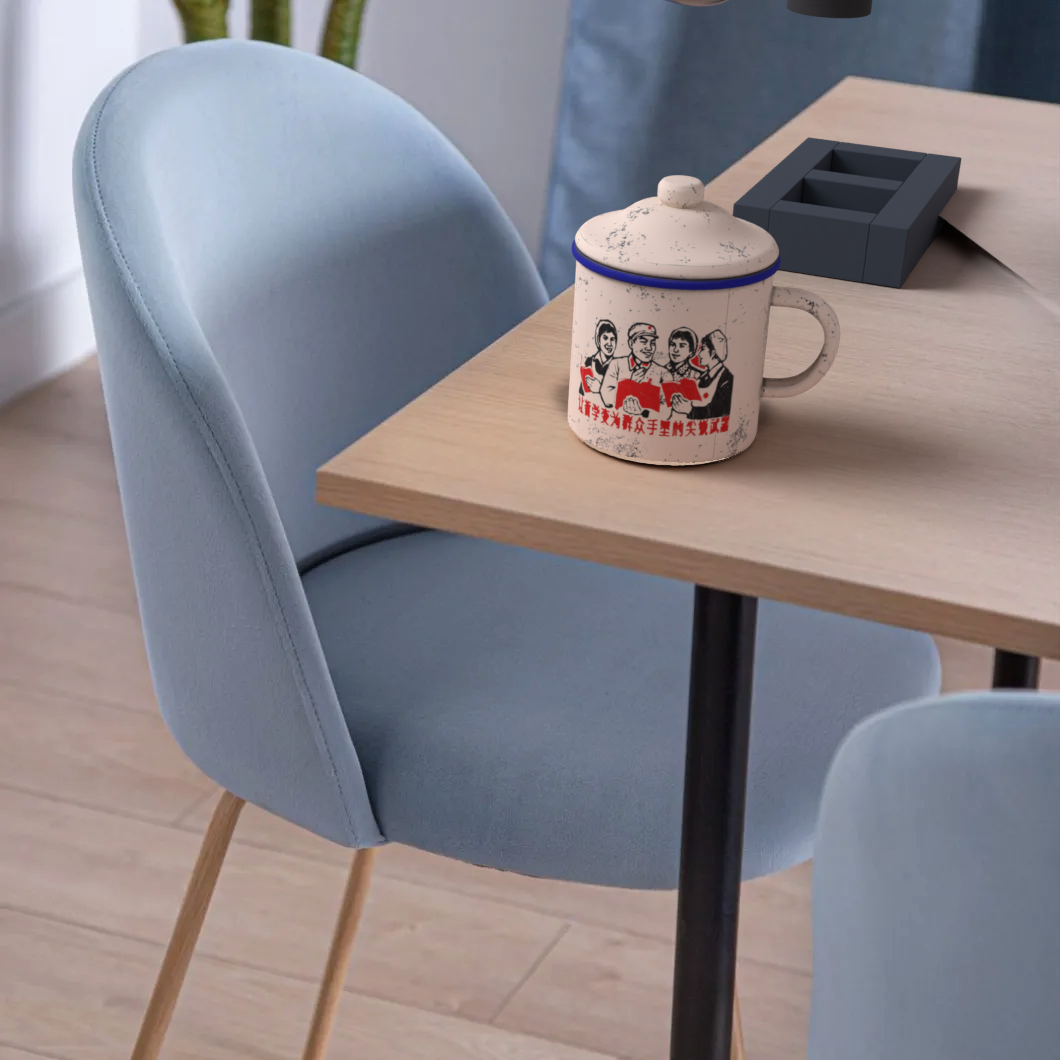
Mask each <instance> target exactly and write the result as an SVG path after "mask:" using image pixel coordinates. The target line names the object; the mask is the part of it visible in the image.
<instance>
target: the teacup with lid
mask: <svg viewBox="0 0 1060 1060" xmlns="http://www.w3.org/2000/svg"><path fill="white" fill-rule="evenodd" d="M705 190H706V189H705V185H704V183H703V181H701V179H700V178H697V177H694V176H691V175H690V176H689V175H682V174H681V175H680V174H678V175H677V174H675V175H668V176H665V177H663V178H662V179H661V180H660V181H659V183H658V185H657V194H656V196H651V197H646V198H643V199H641V200H638V201H636V202H634V203H632V204H631V205H629V206H627V207H626V208H623V209H617V210H613V211H607V212H604V213H601V214H598V215H596V216H593V217H592V218H590V219H588V220H587V221H585V222H584V223H583V224H582V225H581V226H580V227H579V228H578V230H577V232H576V234H575V237H574V239H573V240H572V243H571V249H570V250H571V254H572V256H573V257H574V259H575V260H576V261H575V275H574V276H575V279H574V294H573V296H574V297H573V310H572V311H573V314H572V330H571V348H570V349H571V350H570V363H569V365H570V367H569V382H568V383H569V384H568V399H567V400H568V402H567V424H568V423H569V424H568V426H569V428H570V427H571V429H572V430H573V431H574V432H575V433H576V434H577V435H578V436H579V437H580V438H582V439H583V440H585V441H587V442H588V443H590V444H592V445H594V446H596V447H599V448H600V449H603V450H607V451H610V452H613V453H616V454H619V455H624V456H627V457H633V458H640V459H644V460H650V461H662V462H678V463H683V462H685V463H690V462H692V463H695V462H705V461H713V460H719V459H722V458H727V457H731V456H733V455H735V454H737V455H739V454H741V453H742V451H743V452H744V451H745V450H747V449H748V448H749V447H750V446H751V444H753V442H754V440H755V438H756V436H757V433H758V425H759V423H758V422H759V416H760V407H761V406H760V405H761V398H763V399H764V398H765V399H766V398H767V399H784V398H785V399H786V398H793V397H796V396H799V395H802V394H804V393H807V392H808V391H810V390H811V389H813V388H814V387H815V386H817V384H819V382H821V381H822V379H824V377H826V375H827V373H828V372H829V370H830V369H831V367H832V366H833V363H834V362H835V359H836V356H837V354H838V351H839V347H840V341H841V325H840V321H839V318H838V315H837V313H836V311H835V310H834V308H833V307H832V306H831V304H830V303H829V302H828V301H826V300H825V299H824V298H823V297H822V296H820V295H818V294H817V293H815V292H813V291H810V290H807V289H803V288H798V287H789V286H778V285H776V286H775V285H774V276H775V274H776V273H777V272H778V271H779V267H780V265H781V257H780V254H779V249H778V246H777V244H776V242H775V240H774V238H773V237H772V236H771V235H770V234H769V233H768V232H767V231H765V230H764V229H762V228H761V227H759V226H757V225H755V224H753V223H750V222H748V221H745V220H742V219H739V218H736V217H734V216H733V214H732V213H730V211H728V210H726V208H724V207H722V206H721V205H719V204H717V203H715V202H713V201H710V200H708V199H705V192H706V191H705ZM771 307H778V308H779V307H781V308H792V309H797V310H800V311H804V312H806V313H808V314H810V315H812V316H813V317H814V318H815V320H817V322H819V324H820V326H821V327H822V331H823V334H824V338H823V339H824V340H823V345H822V348H821V350H820V352H819V354H818V355H817V357H816V358H815V360H814V361H813V362H812V364H810V365H809V366H808V367H807V368H806V369H805V370H803V371H802V372H800V373H798V374H795V375H792V376H788V377H765V376H764V369H765V359H766V350H767V344H768V343H767V342H768V332H769V323H770V314H771ZM571 429H570V430H571ZM572 430H571V431H572ZM740 452H741V453H740ZM738 453H739V454H738ZM735 456H736V455H735ZM733 457H734V456H733ZM731 458H732V457H731Z"/></svg>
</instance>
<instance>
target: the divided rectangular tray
mask: <svg viewBox="0 0 1060 1060" xmlns="http://www.w3.org/2000/svg"><path fill="white" fill-rule="evenodd" d="M961 165H962V157H960V156H952V155H945V154H937V153H928V152H923V151H922V152H921V151H915V150H907V149H899V148H891V147H885V146H884V147H883V146H875V145H868V144H861V143H855V142H846V141H838V140H832V139H824V138H816V137H809V136H808V137H806V138H805V140H803V141H802V142H801V143H800V144H798V146H797V147H795V149H793V150H792V151H791V152H790V153H789V154H788V155H787V156H786V157H784V158H783V159H782V160H781V161H780V162H779V163H778V164H776V165H775V166H774V167H773V168H772V169H771V170H770V171H768V172H767V173H766V174H765V176H763V177H762V178H761V179H759V181H758V182H756V183H755V184H754V185H753V186H752V187H750V189H749V190H748V191H746V192H745V193H744V194H743V195H742V196H741V197H740V198H739V199H737V200H736V201H735V202H734V203H733V207H732V209H733V210H732V215H733V216H734V217H736V218H739V219H742V220H745V221H748V222H750V223H753V224H755V225H757V226H759V227H761V228H762V229H764V230H765V231H767V232H768V233H769V234H770V235H771V236H772V237H773V238H774V240H775V242H776V244H777V246H778V249H779V254H780V257H781V265H780V267H779V269H778V271H786V272H792V273H799V274H804V275H805V274H806V275H810V276H811V275H812V276H819V277H824V278H830V279H838V280H842V281H852V282H857V283H863V284H864V283H865V284H870V285H877V286H883V287H890V288H896V289H901V288H902V286H903V284H904V283H905V281H907V278H908V277H909V276H910V274H911V273H912V271H913V270H914V269H915V267H916V266H917V264H918V263H919V261H920V259H922V257H923V255H924V254H925V252H926V251H927V249H928V248H929V246H930V245H931V244H932V243H933V241H934V239H935V237H936V236H937V235H938V233H939V232H940V231H941V229H942V227H943V226H944V224H945V223H946V221H947V219H945V218H943V216H941V213H942V212H943V210H944V209H945V207H946V206H947V204H948V203H949V202H950V201H951V199H952V198H953V196H954V195H955V193H956V192H957V190H958V185H959V177H960V170H961Z"/></svg>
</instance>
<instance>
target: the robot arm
mask: <svg viewBox="0 0 1060 1060" xmlns="http://www.w3.org/2000/svg"><path fill="white" fill-rule="evenodd" d="M664 1H665V2H667V3H668V2H669V3H672V4H676V5H681V6H686V7H687V6H688V7H712V6H717V5H720V4H724V3H726V2H728V1H729V0H664Z"/></svg>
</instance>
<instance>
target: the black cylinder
mask: <svg viewBox="0 0 1060 1060" xmlns="http://www.w3.org/2000/svg"><path fill="white" fill-rule="evenodd" d="M872 7H873V0H787V1H786V9H787V10H788V11H790V12H793V13H795V14H799V15H804V16H808V17H809V16H810V17H815V18H825V19H827V18H828V19H859V18H865V17H868V16H870V15H871V14H872Z"/></svg>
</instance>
